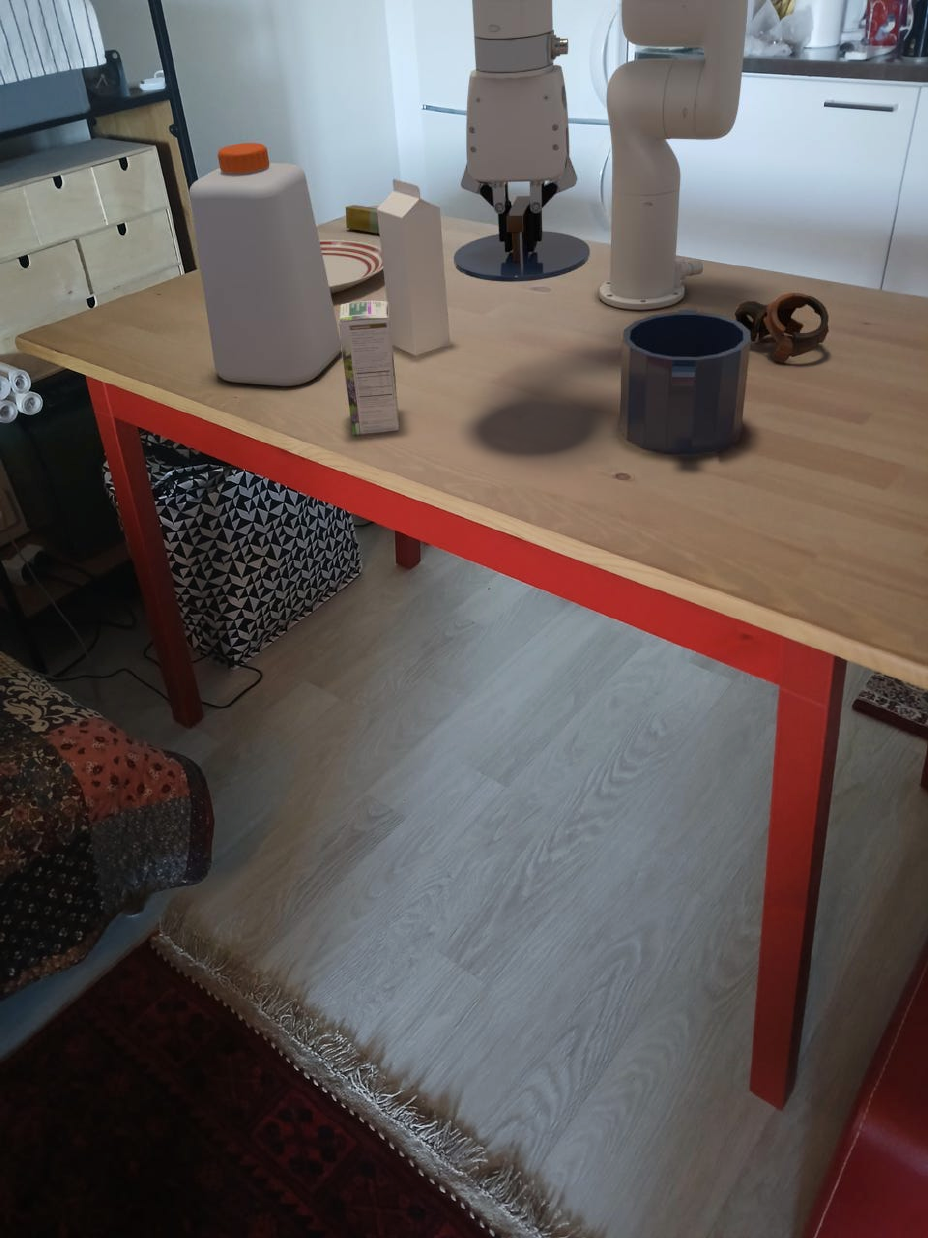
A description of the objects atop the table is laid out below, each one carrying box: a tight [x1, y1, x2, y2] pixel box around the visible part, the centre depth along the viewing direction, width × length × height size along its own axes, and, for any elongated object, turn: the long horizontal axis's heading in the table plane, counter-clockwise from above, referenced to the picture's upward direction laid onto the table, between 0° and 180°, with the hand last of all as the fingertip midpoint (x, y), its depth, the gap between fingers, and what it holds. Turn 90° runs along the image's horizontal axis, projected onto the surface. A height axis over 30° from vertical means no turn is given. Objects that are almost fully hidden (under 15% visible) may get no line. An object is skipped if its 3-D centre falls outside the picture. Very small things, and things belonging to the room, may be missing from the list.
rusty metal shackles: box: [734, 292, 830, 364], centre depth 133 cm, size 12×10×8 cm
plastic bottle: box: [189, 142, 342, 387], centre depth 133 cm, size 15×15×28 cm
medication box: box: [345, 204, 380, 235], centre depth 188 cm, size 12×3×4 cm, turn 56°
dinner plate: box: [319, 239, 383, 295], centre depth 168 cm, size 27×27×3 cm
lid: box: [453, 195, 591, 283], centre depth 109 cm, size 15×15×6 cm
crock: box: [619, 309, 752, 456], centre depth 115 cm, size 14×19×12 cm
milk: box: [376, 178, 451, 357], centre depth 137 cm, size 6×6×22 cm
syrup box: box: [338, 300, 400, 436], centre depth 120 cm, size 6×6×14 cm
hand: (521, 246), depth 109 cm, fingers closed on lid
